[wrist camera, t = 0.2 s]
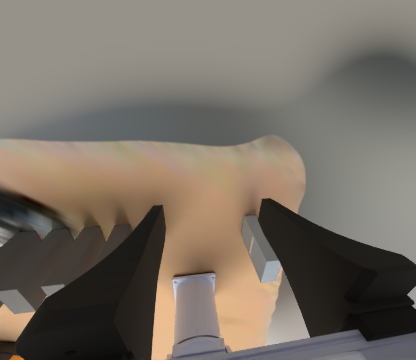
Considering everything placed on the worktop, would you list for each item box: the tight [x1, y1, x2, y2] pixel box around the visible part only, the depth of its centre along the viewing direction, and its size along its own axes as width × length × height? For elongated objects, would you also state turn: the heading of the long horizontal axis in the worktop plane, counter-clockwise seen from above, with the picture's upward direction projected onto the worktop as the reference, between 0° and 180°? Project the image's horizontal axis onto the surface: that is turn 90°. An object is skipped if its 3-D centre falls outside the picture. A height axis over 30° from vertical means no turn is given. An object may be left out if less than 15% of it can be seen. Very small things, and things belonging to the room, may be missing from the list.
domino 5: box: [241, 215, 281, 283], centre depth 23 cm, size 2×4×8 cm, turn 179°
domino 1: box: [0, 231, 42, 307], centre depth 19 cm, size 2×4×8 cm, turn 179°
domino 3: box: [41, 226, 106, 297], centre depth 20 cm, size 2×4×8 cm, turn 179°
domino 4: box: [94, 224, 132, 266], centre depth 21 cm, size 2×4×8 cm, turn 179°
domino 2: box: [0, 228, 74, 314], centre depth 20 cm, size 2×4×8 cm, turn 179°
